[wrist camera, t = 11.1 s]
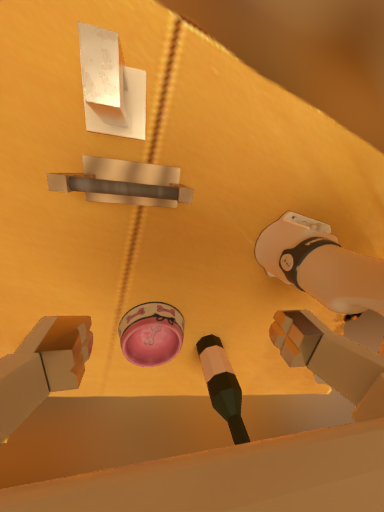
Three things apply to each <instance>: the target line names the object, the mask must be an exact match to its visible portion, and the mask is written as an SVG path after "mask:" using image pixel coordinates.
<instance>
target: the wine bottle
mask: <svg viewBox="0 0 384 512" xmlns="http://www.w3.org/2000/svg"><path fill="white" fill-rule="evenodd" d="M196 345H197V350H198V354H199V358H200V362H201V365H202V369H203V373H204V376H205V380H206V384H207V387H208V391H209V395H210V398H211V402H212V405H213V408H214V409H215V410H216V411H217V412H218V413H219V414H220V415H221V416H222V417H223V418H224V419H225V420H226V421H227V422H228V425H229V428H230V431H231V434H232V438H233V441H234V444H235V445H238V444H244V443H249V442H250V439H249V436H248V434H247V431H246V428H245V426H244V423H243V420H242V418H241V402H242V390H241V388H240V386H239V383H238V381H237V378H236V376H235V374H234V371H233V369H232V367H231V364H230V362H229V360H228V357H227V355H226V353H225V350H224V348H223V346H222V343H221V341H220V338H219V337H216V336H214V335H208V336H205V337H202V338H201V339H200V340H199V342H198V343H197V344H196Z"/></svg>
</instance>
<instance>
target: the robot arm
mask: <svg viewBox="0 0 384 512" xmlns="http://www.w3.org/2000/svg"><path fill="white" fill-rule="evenodd" d="M292 217H293V218H292ZM255 256H256V259H257V261H258V263H259V264H260V265H261V266H262V267H264V269H265V271H266V273H267V275H268V276H270V277H277V278H278V279H280V280H281V281H283V282H284V283H286V284H292V285H293V286H295V287H296V288H298V289H300V290H301V291H304V292H307V293H308V294H309V295H311V296H312V297H313V298H315V299H316V300H317V301H319V302H320V303H321V304H323V305H324V306H325V307H327V308H328V309H329V310H331V311H333V312H336V313H342V314H356V313H360V312H363V311H365V310H368V309H371V310H374V311H376V312H378V313H380V314H381V315H383V316H384V259H378V258H373V257H369V256H366V255H362V254H359V253H356V252H353V251H350V250H348V249H345V248H342V247H341V246H340V245H339V244H338V238H337V236H335V235H332V234H331V226H330V225H328V224H326V223H323V222H320V221H317V220H315V219H312V218H309V217H306V216H303V215H300V214H297V213H295V212H292V211H287V212H286V213H285V214H284V215H283V216H282V217H281V218H280V219H279V220H278V221H276V222H274V223H272V224H271V225H269V226H268V227H267V228H266V229H265V230H264V231H263V232H262V233H261V235H260V236H259V238H258V240H257V243H256V247H255ZM273 318H274V320H275V321H274V322H273V323H272V324H271V326H270V329H269V335H270V339H271V341H272V343H273V344H274V346H276V347H277V348H279V349H280V354H281V356H282V357H283V358H284V360H285V361H286V363H287V364H288V365H289V367H302V366H307V368H308V369H310V370H311V371H312V372H313V373H315V374H316V375H317V376H319V377H320V378H321V379H322V380H324V381H325V382H326V383H327V384H329V385H330V386H331V387H333V388H334V389H335V390H336V391H338V392H339V393H340V394H341V395H343V396H344V397H345V398H347V399H348V400H349V401H350V402H352V403H353V404H354V405H356V408H355V409H354V410H353V412H352V418H353V419H354V421H355V423H350V424H345V425H340V426H334V427H329V428H324V429H318V430H313V431H308V432H302V433H297V434H292V435H286V436H281V437H276V438H270V439H265V440H260V441H255V442H249V443H244V444H238V445H234V446H228V447H223V448H218V449H212V450H207V451H201V452H197V453H191V454H185V455H181V456H175V457H170V458H164V459H159V460H154V461H148V462H143V463H138V464H133V465H128V466H122V467H117V468H112V469H106V470H101V471H96V472H90V473H85V474H80V475H75V476H69V477H64V478H59V479H54V480H48V481H43V482H37V483H32V484H27V485H22V486H16V487H11V488H6V489H0V512H384V338H383V341H382V343H381V346H380V348H379V351H378V353H376V352H374V351H372V350H370V349H368V348H366V347H364V346H362V345H360V344H358V343H356V342H354V341H352V340H350V339H347V338H345V337H343V336H341V335H339V334H335V333H334V332H333V331H331V330H330V329H329V328H328V327H327V326H326V325H325V324H324V323H322V322H321V321H320V320H319V319H318V318H317V317H316V316H314V315H313V314H312V313H311V312H310V311H308V310H306V309H305V310H286V311H277V312H276V313H275V315H274V317H273ZM90 327H91V317H90V316H45V317H43V318H41V319H40V320H39V322H38V323H37V324H36V325H35V327H34V328H33V329H32V331H31V332H30V333H29V334H28V336H27V337H26V338H25V339H24V341H23V342H22V343H21V345H20V346H19V347H18V348H17V350H16V351H15V352H14V354H7V355H6V356H4V357H2V358H1V359H0V445H1V444H2V443H3V442H4V441H5V439H6V438H7V437H8V436H9V435H10V434H11V433H12V432H13V431H14V430H15V429H16V428H17V427H18V426H19V425H20V424H21V423H22V422H23V421H24V420H25V419H26V418H27V417H28V416H29V415H30V414H31V413H32V412H33V411H34V410H35V408H37V407H38V406H39V404H40V403H41V402H42V401H43V400H44V399H45V398H46V397H47V396H48V395H49V394H50V393H49V392H56V391H64V390H72V389H78V388H79V385H80V383H81V380H82V377H83V374H84V371H85V367H84V363H85V362H86V361H87V360H88V359H89V357H90V354H91V350H92V345H93V333H92V332H91V331H90V330H89V329H90Z"/></svg>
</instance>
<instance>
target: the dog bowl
mask: <svg viewBox="0 0 384 512" xmlns="http://www.w3.org/2000/svg"><path fill="white" fill-rule="evenodd" d="M183 335H184V319H183V316H182V314H181V313H180V312H179V311H178V310H177V309H176V308H175V307H173V306H171V305H169V304H166V303H163V302H148V303H144V304H140V305H138V306H136V307H134V308H132V309H131V310H129V311H128V312H127V313H126V314H125V315H124V316H123V318H122V320H121V322H120V324H119V336H120V341H121V348H122V352H123V354H124V356H125V358H126V359H127V360H128V361H129V362H131V363H133V364H135V365H137V366H142V367H154V366H159V365H162V364H165V363H167V362H169V361H171V360H172V359H173V358H174V357H176V355H177V354H178V353H179V351H180V349H181V347H182V343H183Z"/></svg>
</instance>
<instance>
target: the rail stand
mask: <svg viewBox="0 0 384 512" xmlns="http://www.w3.org/2000/svg"><path fill="white" fill-rule="evenodd" d="M82 160H83V171H84V173H46V174H47V180H48V186H49V191H56V192H67V193H68V192H72V191H80V192H86V201H96V202H108V203H121V204H133V205H145V206H157V207H169V208H177V205H178V202H179V203H190V204H192V200H193V191H194V189H192V188H189V187H187V186H184V185H181V184H179V180H180V168H176V167H169V166H161V165H154V164H146V163H139V162H131V161H123V160H116V159H108V158H101V157H93V156H86V155H82Z"/></svg>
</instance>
